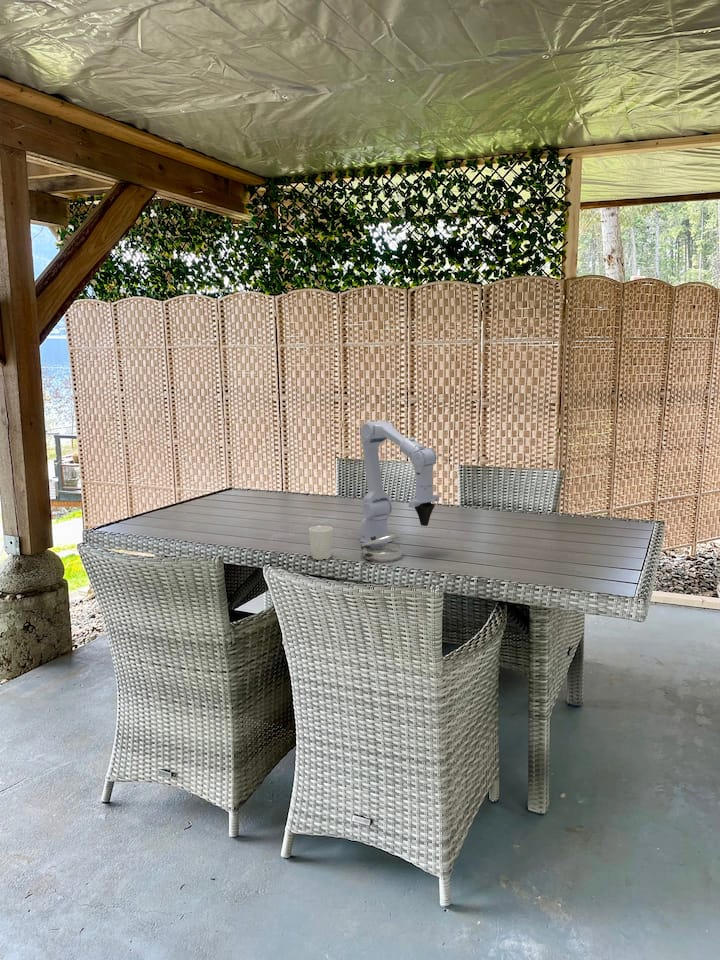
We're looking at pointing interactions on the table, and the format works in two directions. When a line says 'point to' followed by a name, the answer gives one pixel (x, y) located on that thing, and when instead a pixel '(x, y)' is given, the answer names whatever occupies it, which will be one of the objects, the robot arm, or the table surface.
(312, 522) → the table surface
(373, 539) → the lid
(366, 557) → the grey flat round piece
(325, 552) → the white cup
